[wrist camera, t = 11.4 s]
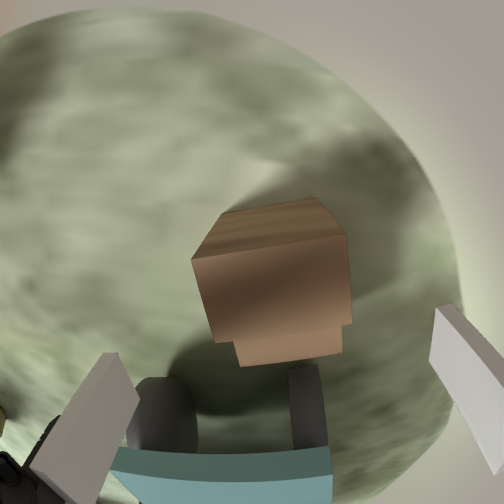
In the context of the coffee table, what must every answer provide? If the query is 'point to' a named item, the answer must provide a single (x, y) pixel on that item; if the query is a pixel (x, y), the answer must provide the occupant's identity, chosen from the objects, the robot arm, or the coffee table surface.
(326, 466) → the trolley
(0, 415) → the squeeze bottle
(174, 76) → the coffee table surface
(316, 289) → the block
